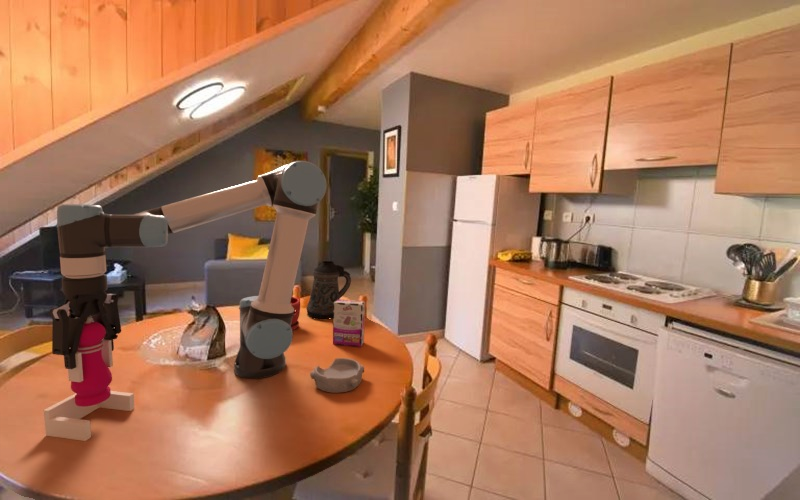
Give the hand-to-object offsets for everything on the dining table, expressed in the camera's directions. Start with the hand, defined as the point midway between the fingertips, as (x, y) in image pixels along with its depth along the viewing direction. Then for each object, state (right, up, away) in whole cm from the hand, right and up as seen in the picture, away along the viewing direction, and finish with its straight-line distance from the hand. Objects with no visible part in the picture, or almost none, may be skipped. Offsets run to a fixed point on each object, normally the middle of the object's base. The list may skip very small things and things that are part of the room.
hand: (91, 372), depth 82 cm
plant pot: (+22, -4, +66) cm, 70 cm away
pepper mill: (0, -7, +1) cm, 7 cm away
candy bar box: (+51, -8, +54) cm, 75 cm away
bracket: (-1, -12, +2) cm, 12 cm away
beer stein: (+36, -2, +87) cm, 95 cm away
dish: (+53, -12, +25) cm, 59 cm away
